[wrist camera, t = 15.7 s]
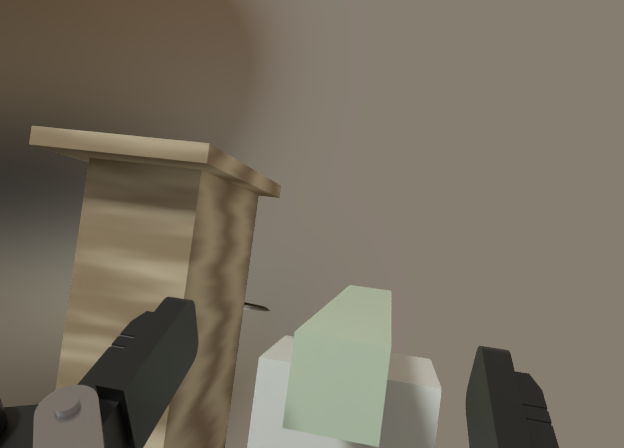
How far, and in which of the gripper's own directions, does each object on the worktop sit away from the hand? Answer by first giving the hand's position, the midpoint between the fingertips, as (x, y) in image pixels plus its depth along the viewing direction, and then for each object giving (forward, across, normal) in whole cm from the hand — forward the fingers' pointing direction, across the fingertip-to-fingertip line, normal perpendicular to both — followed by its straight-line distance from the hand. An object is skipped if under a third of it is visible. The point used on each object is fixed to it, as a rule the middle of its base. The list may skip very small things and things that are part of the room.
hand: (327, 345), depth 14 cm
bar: (+12, 0, +11) cm, 16 cm away
